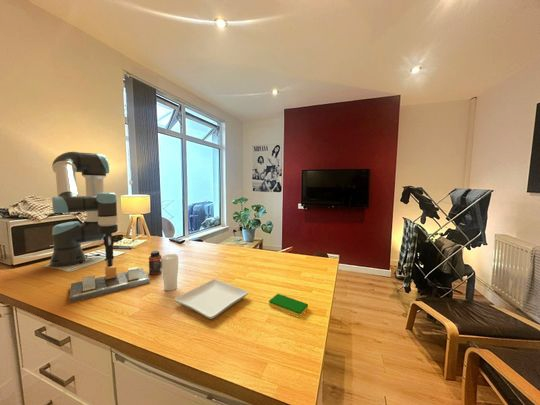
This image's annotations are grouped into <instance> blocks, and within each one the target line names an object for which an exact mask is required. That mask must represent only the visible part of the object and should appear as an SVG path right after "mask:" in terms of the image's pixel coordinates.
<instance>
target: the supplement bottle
mask: <svg viewBox="0 0 540 405" xmlns="http://www.w3.org/2000/svg"><path fill="white" fill-rule="evenodd" d="M148 269H149V271H148V272H149V274H150V275H154V276H155V275H159V274H161V273H163V272H162V255H161V254H160V251H159V250H154V251H151V252H150V256H149V257H148Z"/></svg>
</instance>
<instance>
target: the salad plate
mask: <svg viewBox="0 0 540 405" xmlns="http://www.w3.org/2000/svg"><path fill="white" fill-rule="evenodd" d="M248 294H249V291H248V290H245V289H243V288H241V287H238V286H235V285H233V284H229V283H227V282H224V281H222V280H218V279H216V278H214V279H211V280H210V281H207V282H205V283H203V284H201V285H199V286H197V287H195V288H193V289H191V290H189V291H187V292H185V293H183V294H180V295H179V296H177V297H175V298H174V301H175V302H176V303H177V304H180V305H181V306H184V307H186V308H188V309H190V310H192V311H195V312H196V313H198V314H200V315H202V316H203V317H206V318H207V319H210V320H211V319H214V318H216V317H218V316H219V315H220V314H222V313H223V312H224V311H226V310H227V309H228V308H230V307H231V306H233V305H235V304H236V303H237V302H239V301H241V300H242V299H244V298H245V297H246V296H247V295H248Z"/></svg>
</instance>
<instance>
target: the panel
mask: <svg viewBox="0 0 540 405" xmlns="http://www.w3.org/2000/svg"><path fill="white" fill-rule="evenodd" d="M150 278H151V277H149V276H148V274H147V273H146V271H145V269H144V268H140V267H139V266H135V267H129V268H127V271H124V272H119V273H116V277H115V278H110V279H106V278H105V276H101V277H95V275H90V276H86V277H81V279H82V280H80V281H77V282H72V283H71V284H70V290H69V297H68V298H69V299H68V300H69V304H71V303H75V302H79V301H83V300H87V299H91V298H96V297H99V296H103V295H106V294H112V293H115V292H119V291H123V290H126V289H131V288H134V287H139V286H143V285H147V284H151V281H150Z"/></svg>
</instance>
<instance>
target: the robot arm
mask: <svg viewBox="0 0 540 405" xmlns="http://www.w3.org/2000/svg"><path fill="white" fill-rule="evenodd" d="M52 171H53V172H54V174H55V179H56V180H55V181H56V194H57V196H53V197H52V198H51V199H52V211H53V213H56V214H68V213H69V214H70V213H81V212H86V218H85V219H84V220H83V222H84V223H81V222H79V220H76V221H68V222H62V223H59V224H56V225H54V226H53V227H52V233H51V235H52V244H53V245H52V246H53V252H52V255H51V258H50V260H49V266H51V267H67V266H72V265H75V264H80V263H82V262H84V261H86V255H85V253H84V251H83V249H82V246H81V244H82V243H88V242H98V241H100V242H101V241H103V245H104V247H105V250H104V251H105V258H104V261H105V266H106V267H110V266H114V258H115V256H114V240H115V237H114V235H112V234H115V233H117V232H118V230H119V229H118V223H119V222H118V213H117V212H118V211H117V208H118V206H117V202H118V199H117V194H116V193H115V192H105V191H104V190H105V188H104V185H105V184H104V179H105V178H106V177H107V175H108V174H109V173H110V164H109V161H108V158H107V157H106V155H104V154H102V153H101V154H100V153H91V152H79V151H67V152H64V153H62V154H60V155H58V156H57V157H56V158H55V159H54V160H53V161H52ZM76 173H81V176H82V177H83V178H84V179H85V195H83V196H81V195H80V194H79V188H78V183H77V178H76ZM79 195H80V196H79Z"/></svg>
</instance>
